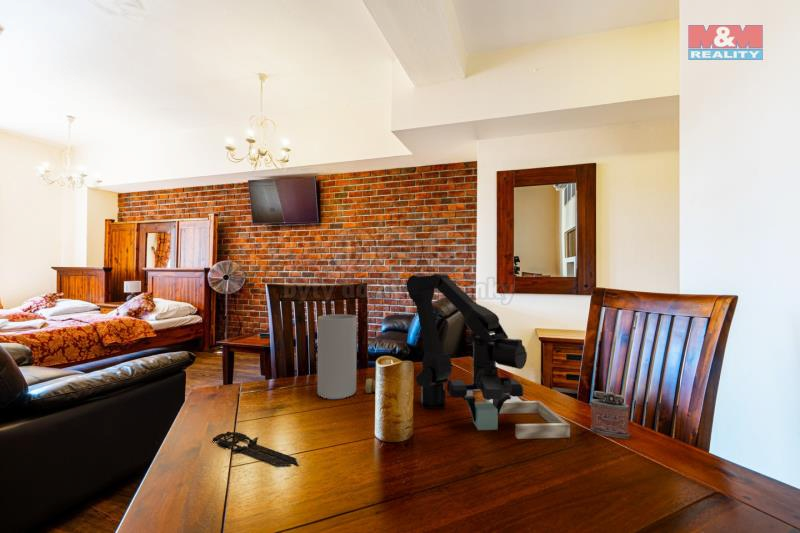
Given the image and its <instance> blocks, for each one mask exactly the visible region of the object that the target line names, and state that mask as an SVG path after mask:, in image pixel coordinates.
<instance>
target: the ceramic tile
mask: <svg viewBox="0 0 800 533" xmlns="http://www.w3.org/2000/svg"><path fill="white" fill-rule="evenodd" d="M509 396H510V397H511V399H509V400H506V401H505V402H507V401H523V400H522V399H521V398H520V396H514V397H513V396H511V395H509ZM484 402H491V403H492V404H493V399H491V400H486V399H484Z"/></svg>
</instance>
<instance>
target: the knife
mask: <svg viewBox="0 0 800 533" xmlns="http://www.w3.org/2000/svg"><path fill="white" fill-rule="evenodd" d="M227 435H228V436H227ZM229 435H230V436H229ZM223 437H224V438H223ZM227 437H228V438H227ZM221 438H222V439H221ZM233 438H234V439H233ZM242 438H243V439H242ZM231 439H233V440H232V441H230V440H231ZM245 439H246V440H245ZM240 440H245V441H248V443H247V446H246V445H243V446H241V445H239V443H240ZM213 441H214V442H215V441H217V445H220V446H219V447H220V448H223V447H224V449H226V448H229V447H233V449H232V450H231V453H232V454H233V455H235V454H241V453H244V454H247V455H250V456H252V457H255V458H258V459H261V460H262V461H265V462H268V463H270V464H272V465H276V466H279V467H280V466H292V465H296V466H300V465H299V462H298V459H297V458H296V457H294V456H291V455H288V454H285V453H282V452H279V451H278V450H274V449H271V448H268V447H266V446H262V445H260V444H258V442H257V441H259V437H254V438H253V439H251V437H249V436H248V435H247V434H244V433H243V432H242V433H241V432H239V431H237V432H235V431H232V432H231V431H226V433H225V432H224V433H220V434H219V433H218V434H217V435H216V436H214V437H212V442H213ZM214 442H213V443H214ZM215 443H216V442H215ZM229 449H230V448H229Z"/></svg>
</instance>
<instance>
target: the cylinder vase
mask: <svg viewBox="0 0 800 533" xmlns="http://www.w3.org/2000/svg"><path fill="white" fill-rule="evenodd" d="M357 318H358V317H357V315H354V314H338V313H337V314H325V315H320V316H318V317H317V395H318V396H319V397H320V396H321V398H322V397H323V399H326V398H327V399H326V400H341V399H346V397H347V398H349V396H350V397H351V396H353V395H354V394H356V392H357V333H358V332H357V330H358V329H357V328H358V327H357V323H358V322H357V320H358V319H357Z"/></svg>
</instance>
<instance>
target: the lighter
mask: <svg viewBox="0 0 800 533" xmlns="http://www.w3.org/2000/svg"><path fill="white" fill-rule="evenodd" d="M593 397H595V398H591V399H590V405H591V406H590V412H591V417H590V418H591V425H590V431H591V432H592V433H595V434H598V435H601V436H608V437H610V438H611V437H613V438H619V439H629V438H630V433H629V410H630V406H629V404H627V403H625V402H624V403H623V401H624V396H623V395H621V394H616V393H614V392H612V391H608V392H605V391H598V390H594V391H593ZM596 398H599V399H596Z"/></svg>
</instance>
